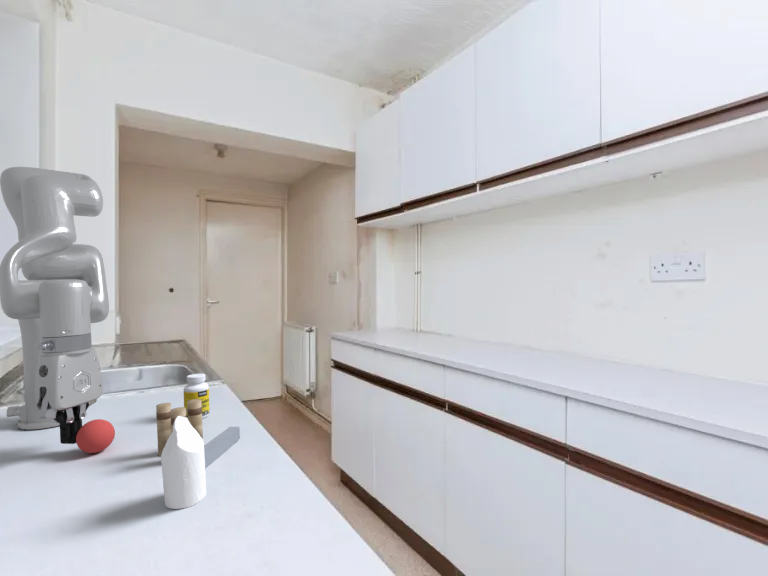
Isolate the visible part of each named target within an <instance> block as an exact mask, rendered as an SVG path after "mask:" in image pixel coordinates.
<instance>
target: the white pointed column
mask: <svg viewBox="0 0 768 576" xmlns="http://www.w3.org/2000/svg"><path fill="white" fill-rule="evenodd" d="M204 443H205V442H204V438H203V439H202V438H201V437H200V435H199V434H198V432H197V431H196V430H195V429H194V428H193V427H192V425H191V424H190V422H189V421H188V419H187V418H186V417H181V416H178V417H177V418H176V419H175V421H174V424H173V432H172V434H171V435H170V436H169V438H168V440H167V442H166V445H165V447H164V449H163V451H162V454H161V456H160V458H161V459H160V461H161V472H162V484H163V485H162V487H163V497H164V506H165V507H167V508H168V509H173V510H179V509H185V508H186V509H187V508H190V507H192V506H195V505H197V504H198V503H200V502H201V501H202V500H203V499H205V497H206V496H207V481H206V480H207V479H206V478H207V477H206V468H205V454H204V445H205V444H204Z"/></svg>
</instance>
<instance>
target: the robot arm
mask: <svg viewBox="0 0 768 576" xmlns="http://www.w3.org/2000/svg"><path fill="white" fill-rule="evenodd" d="M0 191H1V195H2V199H3V202H4V204H5V206H6V209H7V210H8V213H9V215H10V217H12V219H13V221H14V223H15V226H16V228H17V229H16V230H17V235H18V237H17V238H18V242H16V243H15V244H14V245H13V246H12V247H10V248H9V250H8V251H7V252H6V254H4V256H3V258H2V260H1V263H0V306H1V310H2V311H3V313H4V314H5V316H7V318H10V319H12V320H13V319H14V320H18V325H19V331H20V336H21V345H22V363H23V364H22V365H23V383H24V386H23V387H24V388H23V389H24V404H22V405H13V406H8V407H7V409H6V417H7V418H10V417H17V416H18V418H19V420H17V421H16V427H17V428H18V429H19V428H20V430H24V429H26V430H30V431H31V430H43V429H49V428H54V427H59V434H60V435H59V439H60V444H62V445H63V444H64V445H75V444H77V443H76V436H77V433H78V431H79V430H80V428H81V427H82V426H83V419H84V418H85V417H86V415H87V410H88V408H89V407H92V405H94V404H95V403H96V402H97V401H98V399H99V398H101V396H102V395H103V380H102V378H103V377H102V370H101V365H100V360H99V357H98V354H97V351H96V348H93V346H92V345H93V344H92V328H91V327H92V326H91V325H92V324H94V323H95V324H96V323H101V322H103V321H105V320H106V319H107V317H108V316H109V312H110V302H109V295H108V294H109V293H108V287H107V285H108V284H107V280H106V278H107V277H106V272H105V271H106V270H105V265H104V264H105V263H104V259H103V256H102V255H103V254H102V253H101V251H100V249H98V248H97V247H95V246H94V245H91V244H82V243H81V244H79V243H76V242H77V232H76V225H75V221H74V220H75V219H74V217H76V216H78V217H90V218H91V217H92V218H94V217H97V216H99V215H100V214H101V213H102V211H103V206H104V197H103V193H102V190H101V188H100V187H99V185H98V183H97V182H96V181H95V180H94V179H93V178H91V177H90V176H89V175H87V174H83V173H76V172H68V171H62V170H53V169H47V168H40V167H39V168H38V167H32V166H31V167H29V166H14V167H13V166H12V167H8V168H6V169H4V170H3V171H2V172H1V173H0ZM20 269H21V273H22V275H23V277H24V278H25V279H26V280H25V279H24V280H20V279H19V277H18V274H19V270H20Z"/></svg>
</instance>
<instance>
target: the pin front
mask: <svg viewBox="0 0 768 576" xmlns="http://www.w3.org/2000/svg"><path fill="white" fill-rule="evenodd" d="M155 409H156V412H155V416H156V419H155V420H156V432H157V433H156V435H157V455H158V456H159V457H161V454H162V451H163V449H164V447H165V445H166V442H167V440H168V438H169V436H170V435H171V434H172V431H171V410H172V403H170V402H162V403H158V404H157V405H155Z"/></svg>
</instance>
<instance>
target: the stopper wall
mask: <svg viewBox="0 0 768 576" xmlns="http://www.w3.org/2000/svg"><path fill="white" fill-rule="evenodd" d="M240 433H241V431H240V426H229V427H227V428H226V429H224V430H222V432H220V433H219V434H218V435H217V436H215V437H214V438H213V439H211V440H210V441H208V442H207V443H206V444H204V454H205V469H207V467H209V466H210V465H211V464H212V463H214V462H215V461H216V460H217V459H218V458H220V456H222V455H223V454H225V452H226V451H229V449H231V448H232V447H233V446H234V445H235V444H236V443H238V442H239V441H240V440H239V439H241V437H240V436H241V435H240ZM238 440H239V441H238Z"/></svg>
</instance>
